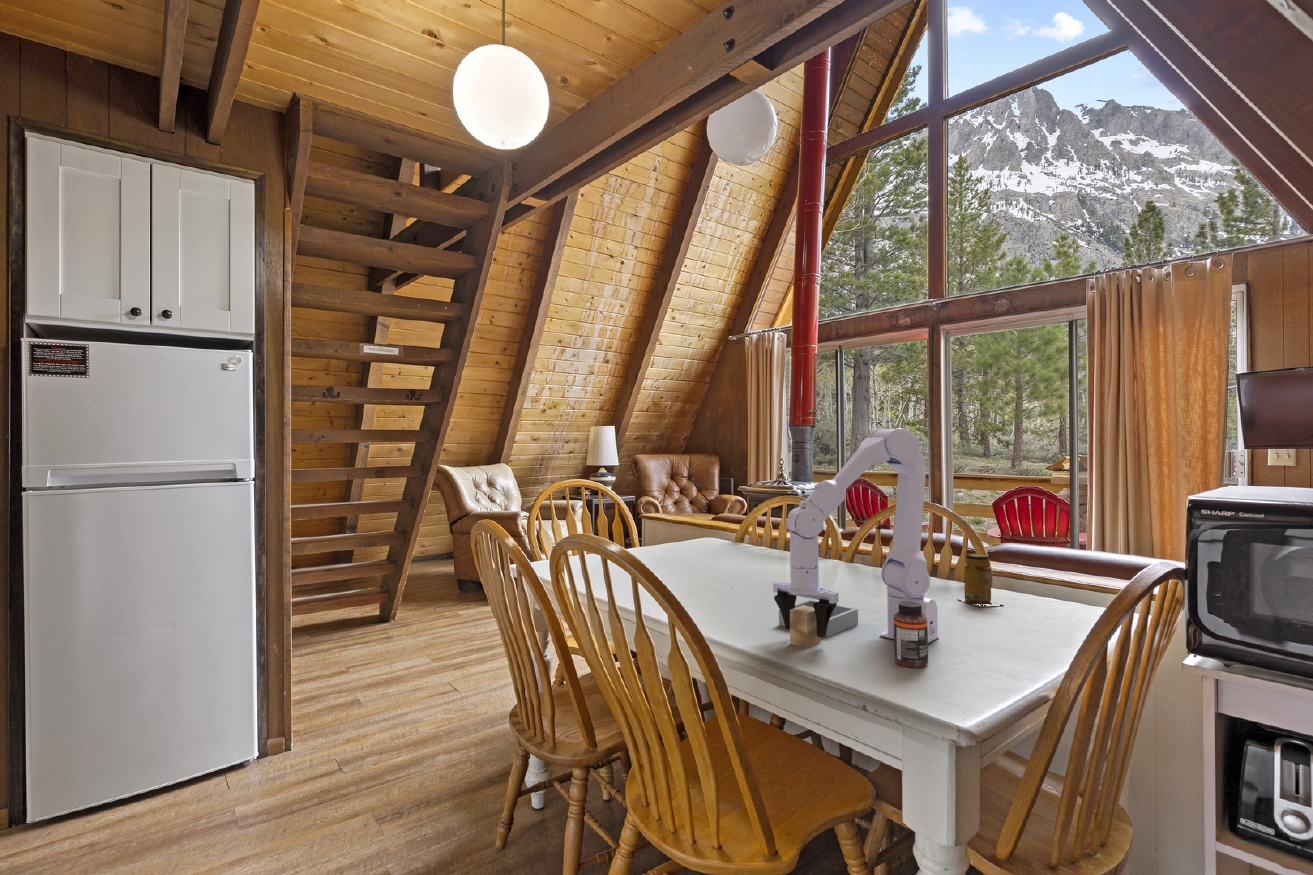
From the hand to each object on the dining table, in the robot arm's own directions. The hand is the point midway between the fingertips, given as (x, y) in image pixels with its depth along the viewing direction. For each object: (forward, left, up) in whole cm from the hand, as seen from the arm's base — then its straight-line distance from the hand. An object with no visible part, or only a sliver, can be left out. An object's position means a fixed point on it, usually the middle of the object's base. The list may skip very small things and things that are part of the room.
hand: (805, 632), depth 136 cm
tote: (+5, -13, -2) cm, 14 cm away
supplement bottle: (-21, -3, -2) cm, 21 cm away
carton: (0, 0, -2) cm, 2 cm away
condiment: (-14, -57, -2) cm, 59 cm away
